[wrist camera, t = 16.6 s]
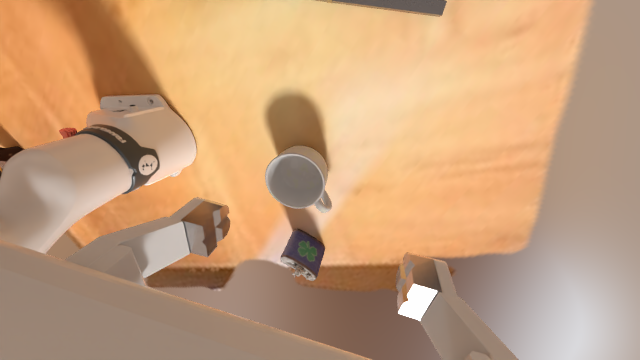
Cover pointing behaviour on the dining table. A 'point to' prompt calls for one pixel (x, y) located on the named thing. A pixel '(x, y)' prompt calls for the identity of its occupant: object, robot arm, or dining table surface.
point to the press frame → (400, 5)
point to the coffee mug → (7, 155)
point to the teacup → (299, 178)
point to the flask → (303, 254)
